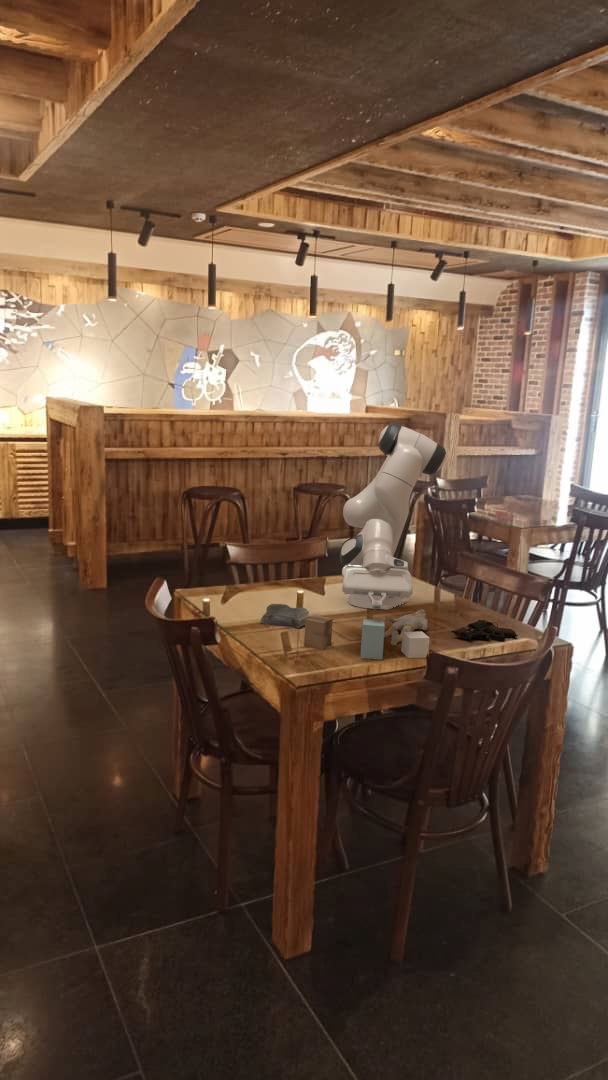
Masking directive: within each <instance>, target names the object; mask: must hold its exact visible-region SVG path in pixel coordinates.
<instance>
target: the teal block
mask: <svg viewBox="0 0 608 1080" xmlns="http://www.w3.org/2000/svg"><path fill="white" fill-rule="evenodd" d="M361 627H362V628H361V645H360V659H361V658H376V659H382V660H383V655H384V654H383V653H384V642H385V641H384V640H385V638H384V632H385V631H386V630H385V628H386V626H385V619H373V618H372V619H370V618H369V619H368V618H363V619H362V626H361Z"/></svg>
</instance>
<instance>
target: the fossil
mask: <svg viewBox="0 0 608 1080" xmlns="http://www.w3.org/2000/svg"><path fill="white" fill-rule="evenodd" d="M265 609H266V610H265V613H264V614H263V615H262V617H261V619H260V622H259V623H260V624H262V625H267V624H269V625H268V626H277V627H287V628H290V627H291V628H296V629H298V630H299V629H300V628H301V627H303V626H305V619H307V618H309V614H310V611H309V610H308V609H307V608H305V607H291V606H289V605H287V604H284V603H283V604H282V603H271V604H269V605H268V606H266V608H265Z"/></svg>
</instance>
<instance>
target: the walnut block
mask: <svg viewBox="0 0 608 1080" xmlns="http://www.w3.org/2000/svg"><path fill="white" fill-rule="evenodd" d="M333 622H334V621H333V617H332V618H331V617H328V616H327V617H326V616H321V615H318V614H314V615H312V616H310V617H309V616H308V618H307V619H305V625H304V637H303V638H304V639H303V640H304V641H303V646H304V647H309V648H314V649H318V650H324V649H325V648H327V647H329V646H332V636H333V635H332V633H333Z"/></svg>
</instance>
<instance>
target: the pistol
mask: <svg viewBox="0 0 608 1080" xmlns="http://www.w3.org/2000/svg"><path fill="white" fill-rule="evenodd" d="M450 632H451V633H454V636H455V637H458V638H461V639H464V640H469V641H471V640H472V638H473V639H474V638H475V639H479V640H484V641H487V642H489V641H490V640H494V641H495V642H500V643H503V642H505V639H511V638H512V639H513V640H518V638H517V637H519V634H517V633H516V631H515V630H513V629H512V628H506V627H505V628H504V627H499V625H498V623H496V622H494V621H493V622H491V621H488V620H485V619H482V620H481V619H477V621H475V622H471V623H468V624H467V625H465V626H463V627H461V628H458V629H454V630H451V631H450Z"/></svg>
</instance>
